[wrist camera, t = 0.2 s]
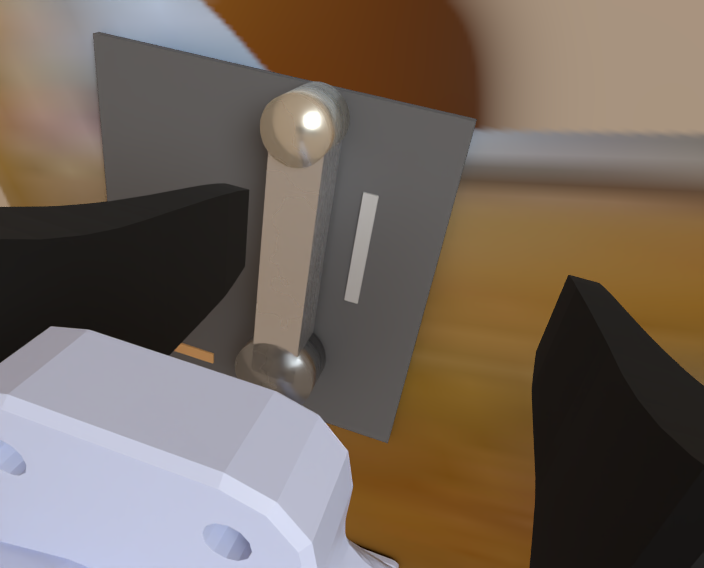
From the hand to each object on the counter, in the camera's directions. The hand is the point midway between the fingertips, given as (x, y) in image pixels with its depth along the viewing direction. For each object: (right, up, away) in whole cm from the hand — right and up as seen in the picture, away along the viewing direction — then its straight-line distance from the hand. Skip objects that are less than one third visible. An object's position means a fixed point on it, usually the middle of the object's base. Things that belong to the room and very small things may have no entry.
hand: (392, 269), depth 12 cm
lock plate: (-5, +1, +12) cm, 13 cm away
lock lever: (-3, +1, +11) cm, 11 cm away
